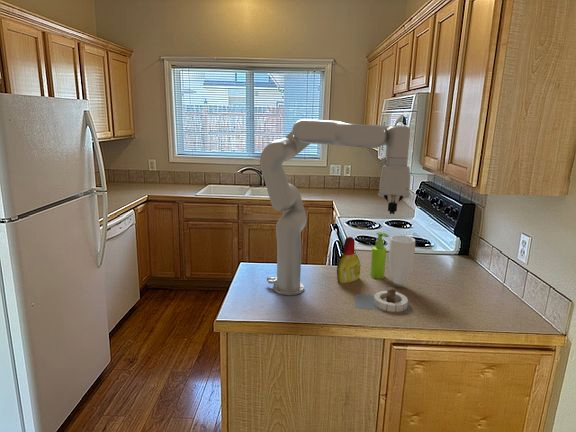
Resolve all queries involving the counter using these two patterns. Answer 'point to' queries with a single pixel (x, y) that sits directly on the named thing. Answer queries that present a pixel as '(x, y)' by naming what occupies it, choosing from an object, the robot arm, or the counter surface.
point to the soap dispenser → (378, 257)
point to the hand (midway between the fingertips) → (391, 213)
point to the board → (372, 303)
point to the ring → (390, 306)
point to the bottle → (348, 263)
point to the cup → (401, 257)
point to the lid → (390, 296)
